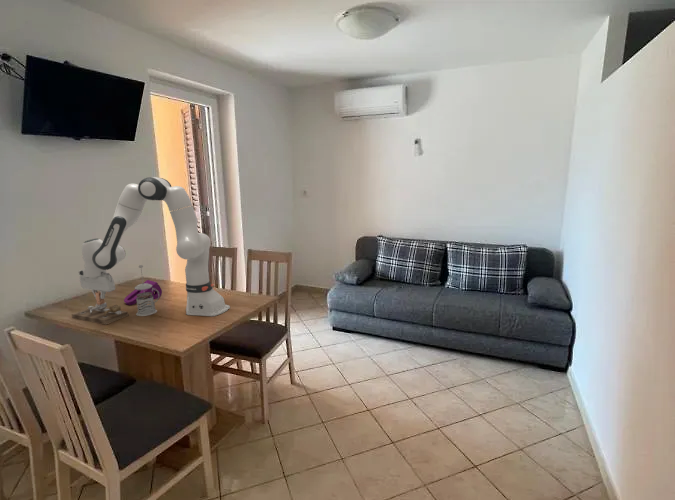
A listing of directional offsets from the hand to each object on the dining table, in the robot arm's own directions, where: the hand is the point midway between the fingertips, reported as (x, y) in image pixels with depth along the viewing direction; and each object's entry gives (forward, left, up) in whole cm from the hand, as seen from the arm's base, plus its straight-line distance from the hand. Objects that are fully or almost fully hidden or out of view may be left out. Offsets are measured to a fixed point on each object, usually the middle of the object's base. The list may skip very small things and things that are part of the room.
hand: (99, 298), depth 191 cm
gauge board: (-2, +3, -9) cm, 9 cm away
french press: (-20, -10, -9) cm, 24 cm away
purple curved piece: (-1, -23, -9) cm, 25 cm away
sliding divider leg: (0, +2, -6) cm, 7 cm away
